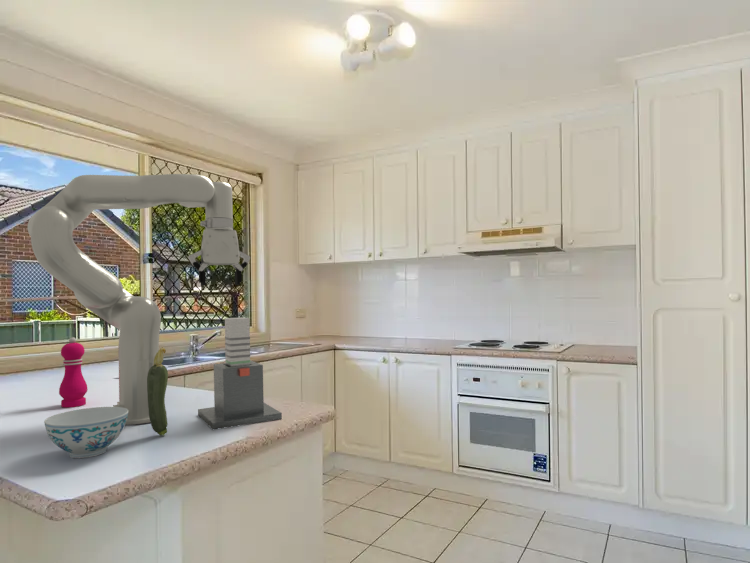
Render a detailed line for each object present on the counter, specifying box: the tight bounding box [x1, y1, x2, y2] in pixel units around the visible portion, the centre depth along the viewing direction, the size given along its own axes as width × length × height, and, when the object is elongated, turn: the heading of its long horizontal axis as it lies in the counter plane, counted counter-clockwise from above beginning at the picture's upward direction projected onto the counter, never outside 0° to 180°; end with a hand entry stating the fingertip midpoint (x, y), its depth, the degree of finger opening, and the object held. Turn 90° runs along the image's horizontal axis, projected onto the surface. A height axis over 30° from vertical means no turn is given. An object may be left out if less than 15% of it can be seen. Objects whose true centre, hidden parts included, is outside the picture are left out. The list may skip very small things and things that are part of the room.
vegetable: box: [147, 347, 169, 436], centre depth 115 cm, size 4×4×20 cm
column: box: [224, 316, 251, 367], centre depth 131 cm, size 5×5×18 cm
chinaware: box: [43, 406, 128, 459], centre depth 104 cm, size 15×15×8 cm
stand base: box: [197, 360, 283, 430], centre depth 131 cm, size 17×17×14 cm
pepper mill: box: [58, 336, 89, 408], centre depth 149 cm, size 7×7×20 cm
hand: (220, 285), depth 146 cm, fingers open, 9 cm apart
